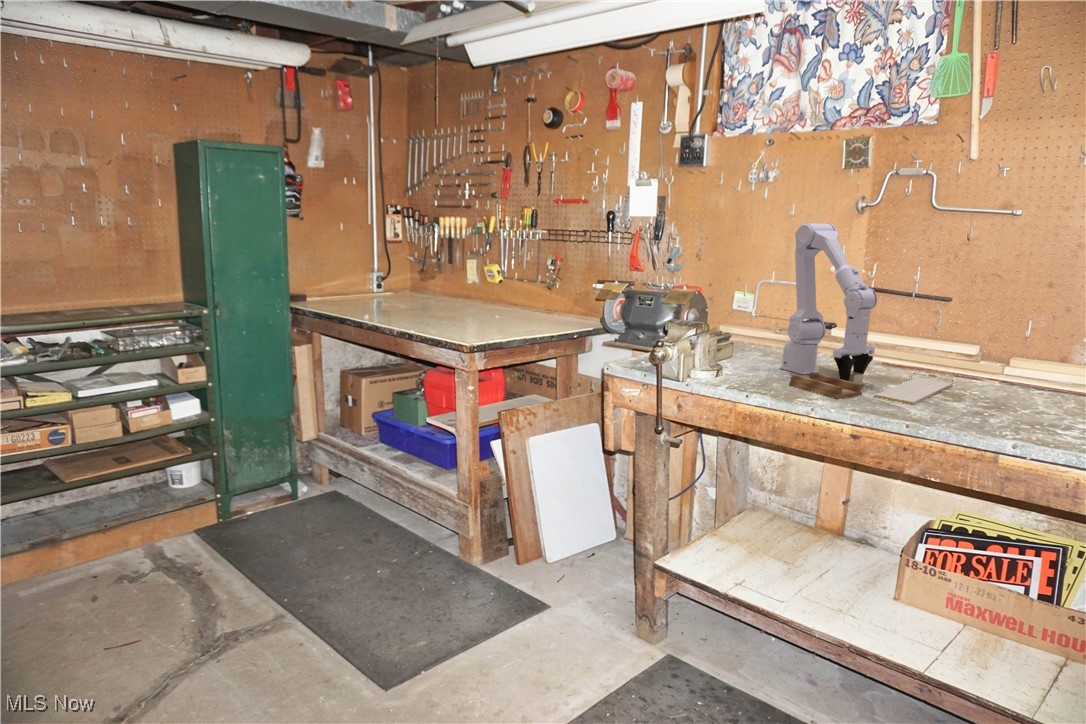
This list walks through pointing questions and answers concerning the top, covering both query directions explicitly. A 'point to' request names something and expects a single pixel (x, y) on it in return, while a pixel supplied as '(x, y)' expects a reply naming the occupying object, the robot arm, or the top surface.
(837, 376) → the beige rectangular block
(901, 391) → the baseboard
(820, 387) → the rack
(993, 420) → the top surface
